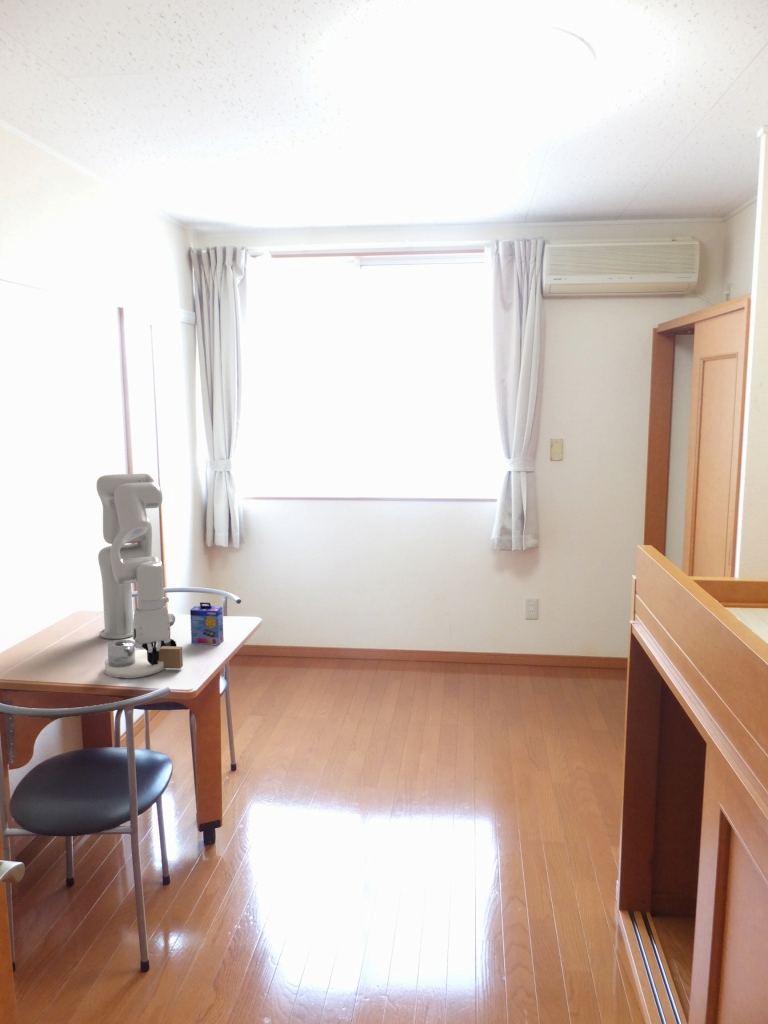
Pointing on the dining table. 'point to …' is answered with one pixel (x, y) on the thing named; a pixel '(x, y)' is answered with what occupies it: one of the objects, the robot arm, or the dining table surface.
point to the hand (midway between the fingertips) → (153, 663)
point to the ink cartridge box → (206, 624)
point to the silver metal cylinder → (121, 653)
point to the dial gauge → (172, 620)
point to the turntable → (167, 659)
